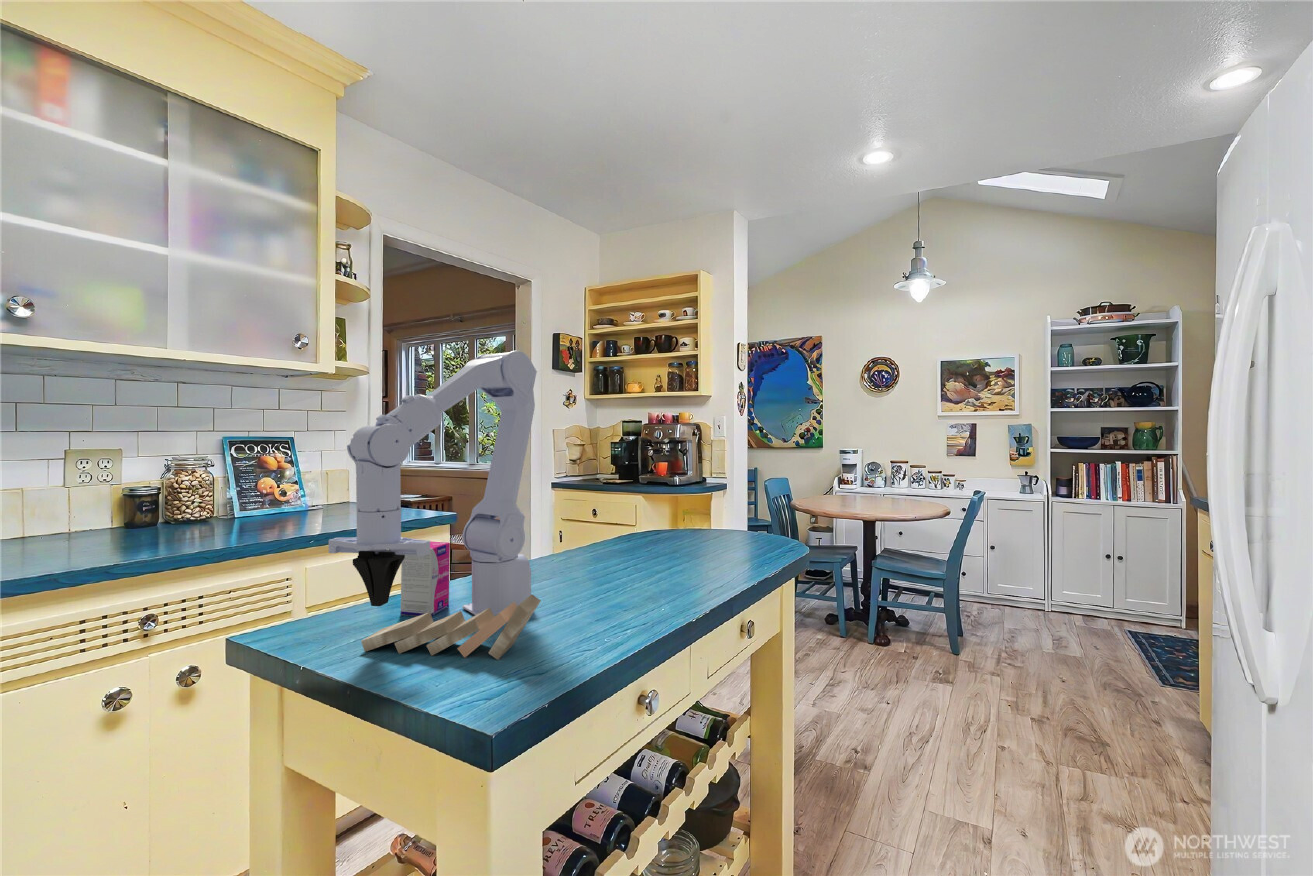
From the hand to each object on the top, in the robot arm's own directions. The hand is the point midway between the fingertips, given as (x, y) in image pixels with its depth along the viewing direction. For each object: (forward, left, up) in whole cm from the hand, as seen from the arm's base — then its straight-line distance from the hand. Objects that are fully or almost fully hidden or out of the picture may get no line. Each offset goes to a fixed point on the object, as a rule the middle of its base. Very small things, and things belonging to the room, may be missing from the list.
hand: (379, 604), depth 83 cm
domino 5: (-12, +14, -6) cm, 19 cm away
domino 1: (+1, -1, -5) cm, 5 cm away
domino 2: (-3, +3, -5) cm, 7 cm away
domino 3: (-6, +7, -5) cm, 10 cm away
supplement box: (-11, -11, -6) cm, 17 cm away
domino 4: (-9, +10, -5) cm, 15 cm away
